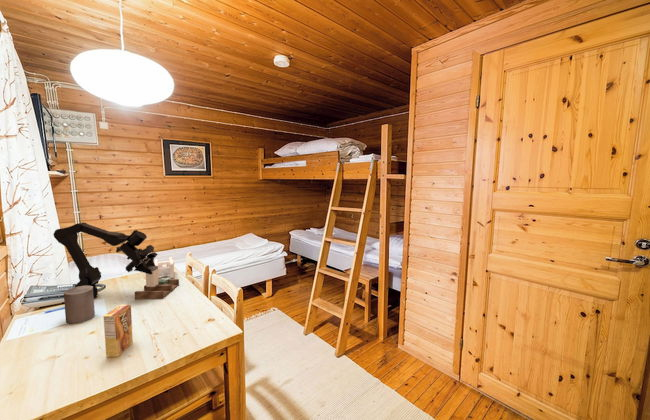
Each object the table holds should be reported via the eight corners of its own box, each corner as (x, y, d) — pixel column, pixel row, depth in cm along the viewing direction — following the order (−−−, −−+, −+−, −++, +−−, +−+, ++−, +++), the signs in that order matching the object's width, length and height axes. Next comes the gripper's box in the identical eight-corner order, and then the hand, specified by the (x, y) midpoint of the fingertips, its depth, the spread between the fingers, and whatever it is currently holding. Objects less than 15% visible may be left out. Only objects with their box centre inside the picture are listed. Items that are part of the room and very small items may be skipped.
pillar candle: (62, 320, 118) (58, 288, 116) (89, 311, 127) (86, 281, 125) (71, 326, 114) (68, 293, 112) (99, 316, 122) (97, 285, 120)
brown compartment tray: (134, 299, 140) (134, 290, 139) (154, 286, 158) (154, 277, 158) (162, 299, 141) (162, 289, 140) (179, 285, 159) (178, 277, 159)
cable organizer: (155, 275, 176) (154, 258, 175) (173, 272, 182) (172, 256, 181) (155, 282, 163) (154, 264, 162) (175, 279, 169) (174, 261, 168)
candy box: (122, 342, 103) (119, 304, 101) (133, 342, 103) (131, 304, 101) (105, 357, 94) (102, 316, 92) (118, 357, 94) (115, 315, 93)
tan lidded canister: (154, 286, 141) (153, 268, 140) (146, 286, 141) (145, 268, 140) (158, 283, 145) (157, 265, 144) (150, 283, 145) (149, 265, 144)
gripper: (130, 245, 131) (154, 267, 133) (153, 237, 150) (174, 257, 151) (114, 261, 132) (138, 282, 133) (139, 251, 150) (160, 270, 152)
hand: (154, 272), depth 142 cm, fingers closed on tan lidded canister, 4 cm apart
